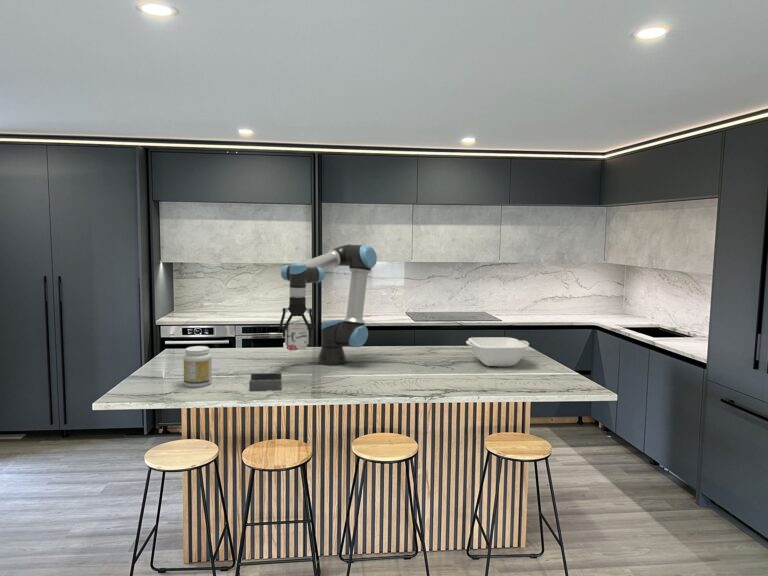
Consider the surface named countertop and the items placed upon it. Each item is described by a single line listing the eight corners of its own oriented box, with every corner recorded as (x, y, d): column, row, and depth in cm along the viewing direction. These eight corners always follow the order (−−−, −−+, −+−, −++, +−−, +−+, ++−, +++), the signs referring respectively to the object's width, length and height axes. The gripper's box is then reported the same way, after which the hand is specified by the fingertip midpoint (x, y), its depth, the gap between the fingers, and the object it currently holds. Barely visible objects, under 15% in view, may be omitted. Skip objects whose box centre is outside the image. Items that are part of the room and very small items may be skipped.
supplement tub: (189, 380, 271) (189, 345, 269) (215, 381, 271) (214, 345, 269) (179, 387, 259) (179, 350, 257) (206, 388, 258) (206, 351, 257)
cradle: (281, 381, 271) (281, 372, 271) (281, 390, 257) (281, 380, 257) (251, 382, 269) (251, 373, 268) (249, 391, 255) (249, 381, 255)
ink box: (289, 350, 265) (289, 325, 264) (286, 348, 270) (286, 323, 269) (307, 349, 269) (307, 324, 268) (303, 347, 274) (304, 323, 273)
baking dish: (473, 370, 300) (473, 346, 299) (460, 358, 328) (460, 336, 327) (535, 370, 304) (537, 346, 302) (517, 358, 332) (518, 336, 330)
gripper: (320, 295, 273) (319, 342, 275) (273, 295, 269) (273, 342, 271) (321, 297, 265) (320, 345, 267) (273, 296, 262) (272, 345, 264)
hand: (296, 343), depth 269 cm, fingers closed on ink box, 9 cm apart
